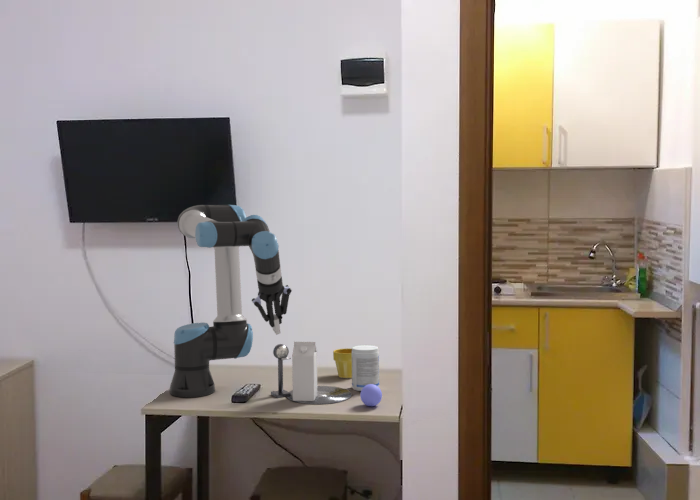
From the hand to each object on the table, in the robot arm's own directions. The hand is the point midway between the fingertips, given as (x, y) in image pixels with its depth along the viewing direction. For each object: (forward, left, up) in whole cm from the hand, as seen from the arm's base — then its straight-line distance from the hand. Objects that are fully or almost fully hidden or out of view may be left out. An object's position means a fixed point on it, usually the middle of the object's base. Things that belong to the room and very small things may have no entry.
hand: (276, 331), depth 235 cm
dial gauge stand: (+5, +7, -23) cm, 25 cm away
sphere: (+24, -20, -24) cm, 39 cm away
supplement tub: (+34, -1, -24) cm, 41 cm away
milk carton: (+9, -2, -23) cm, 25 cm away
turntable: (+16, 0, -23) cm, 28 cm away
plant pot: (+38, +18, -24) cm, 48 cm away
